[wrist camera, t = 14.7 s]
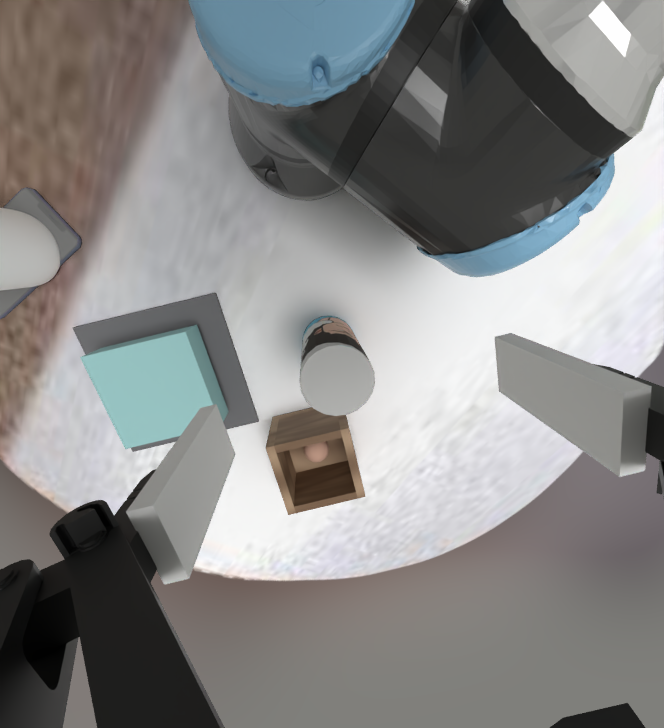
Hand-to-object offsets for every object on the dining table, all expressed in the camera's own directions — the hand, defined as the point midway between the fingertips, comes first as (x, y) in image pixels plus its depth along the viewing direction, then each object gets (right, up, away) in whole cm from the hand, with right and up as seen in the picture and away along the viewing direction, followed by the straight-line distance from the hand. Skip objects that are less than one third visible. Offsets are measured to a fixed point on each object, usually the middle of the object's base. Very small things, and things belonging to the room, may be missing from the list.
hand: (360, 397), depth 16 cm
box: (-4, -9, +33) cm, 34 cm away
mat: (-22, 0, +29) cm, 36 cm away
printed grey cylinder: (-2, +5, +29) cm, 29 cm away
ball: (-4, -10, +32) cm, 34 cm away
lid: (-22, 0, +28) cm, 36 cm away
